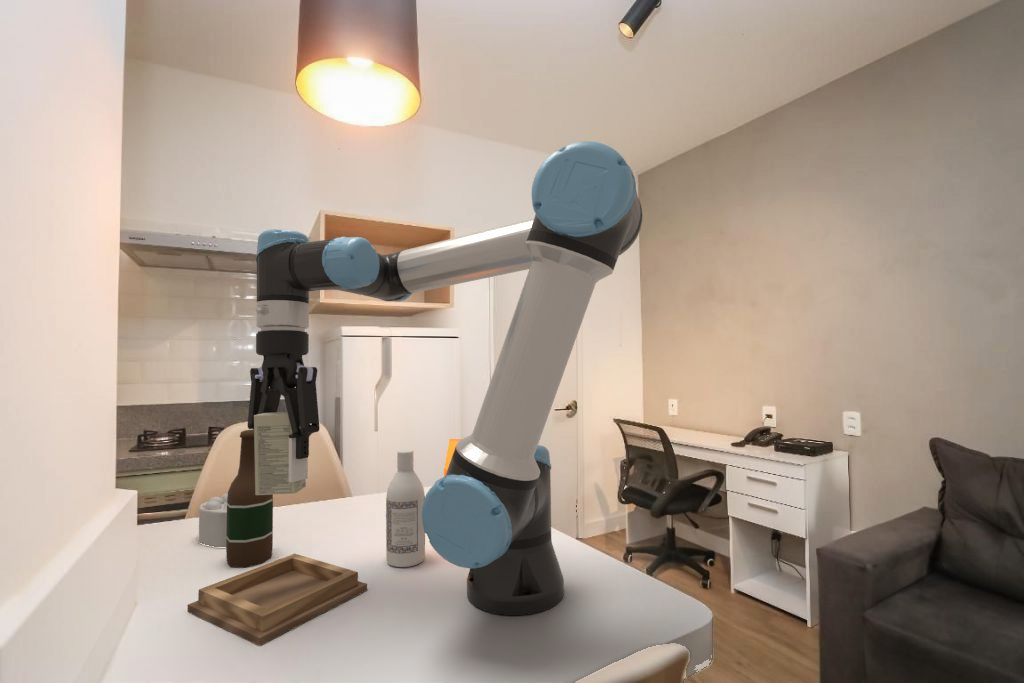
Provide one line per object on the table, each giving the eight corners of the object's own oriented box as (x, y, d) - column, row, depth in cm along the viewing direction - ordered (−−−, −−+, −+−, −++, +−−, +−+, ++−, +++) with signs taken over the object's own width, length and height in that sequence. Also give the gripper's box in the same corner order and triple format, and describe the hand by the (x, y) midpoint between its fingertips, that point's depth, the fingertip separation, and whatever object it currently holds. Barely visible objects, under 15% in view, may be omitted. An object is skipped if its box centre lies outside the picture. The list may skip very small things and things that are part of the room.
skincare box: (306, 487, 79) (307, 410, 79) (295, 494, 74) (296, 413, 75) (265, 488, 78) (266, 411, 79) (252, 495, 74) (253, 414, 75)
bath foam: (402, 551, 95) (401, 446, 96) (432, 556, 92) (431, 448, 93) (378, 564, 89) (378, 452, 90) (410, 570, 86) (409, 455, 87)
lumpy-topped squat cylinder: (224, 551, 97) (224, 506, 98) (184, 541, 103) (185, 499, 103) (270, 534, 106) (271, 493, 107) (232, 526, 112) (232, 487, 113)
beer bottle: (216, 564, 90) (217, 432, 92) (255, 549, 97) (256, 427, 99) (243, 571, 87) (244, 434, 88) (281, 556, 94) (282, 428, 95)
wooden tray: (367, 590, 79) (367, 571, 79) (259, 645, 63) (259, 621, 64) (296, 567, 88) (296, 550, 88) (187, 611, 73) (187, 590, 73)
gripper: (223, 332, 80) (221, 475, 79) (302, 325, 69) (301, 490, 68) (266, 334, 86) (265, 466, 85) (345, 328, 76) (345, 479, 75)
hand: (281, 477), depth 77 cm, fingers closed on skincare box, 7 cm apart
